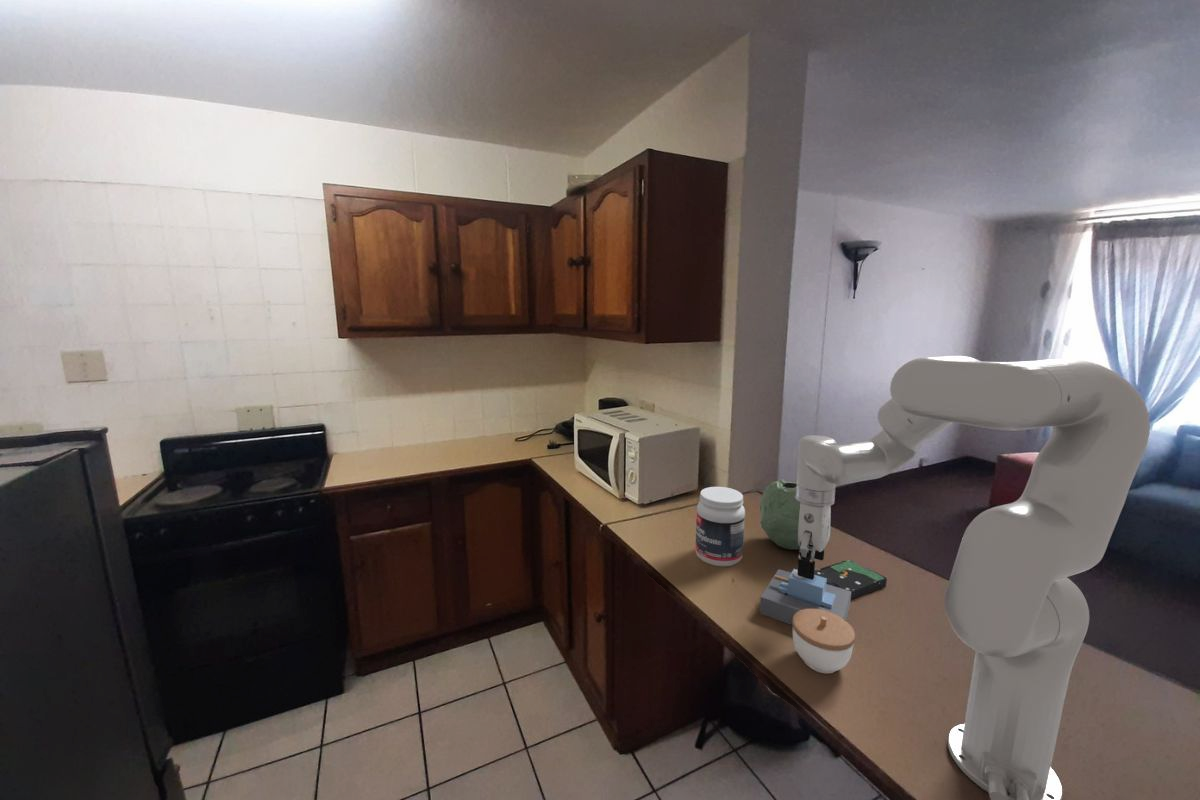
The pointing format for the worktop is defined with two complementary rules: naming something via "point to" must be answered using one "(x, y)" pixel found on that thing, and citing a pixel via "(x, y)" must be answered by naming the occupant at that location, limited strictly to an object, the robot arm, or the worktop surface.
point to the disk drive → (852, 578)
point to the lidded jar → (822, 639)
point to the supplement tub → (720, 526)
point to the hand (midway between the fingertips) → (810, 567)
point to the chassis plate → (799, 601)
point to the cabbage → (781, 513)
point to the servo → (807, 589)
